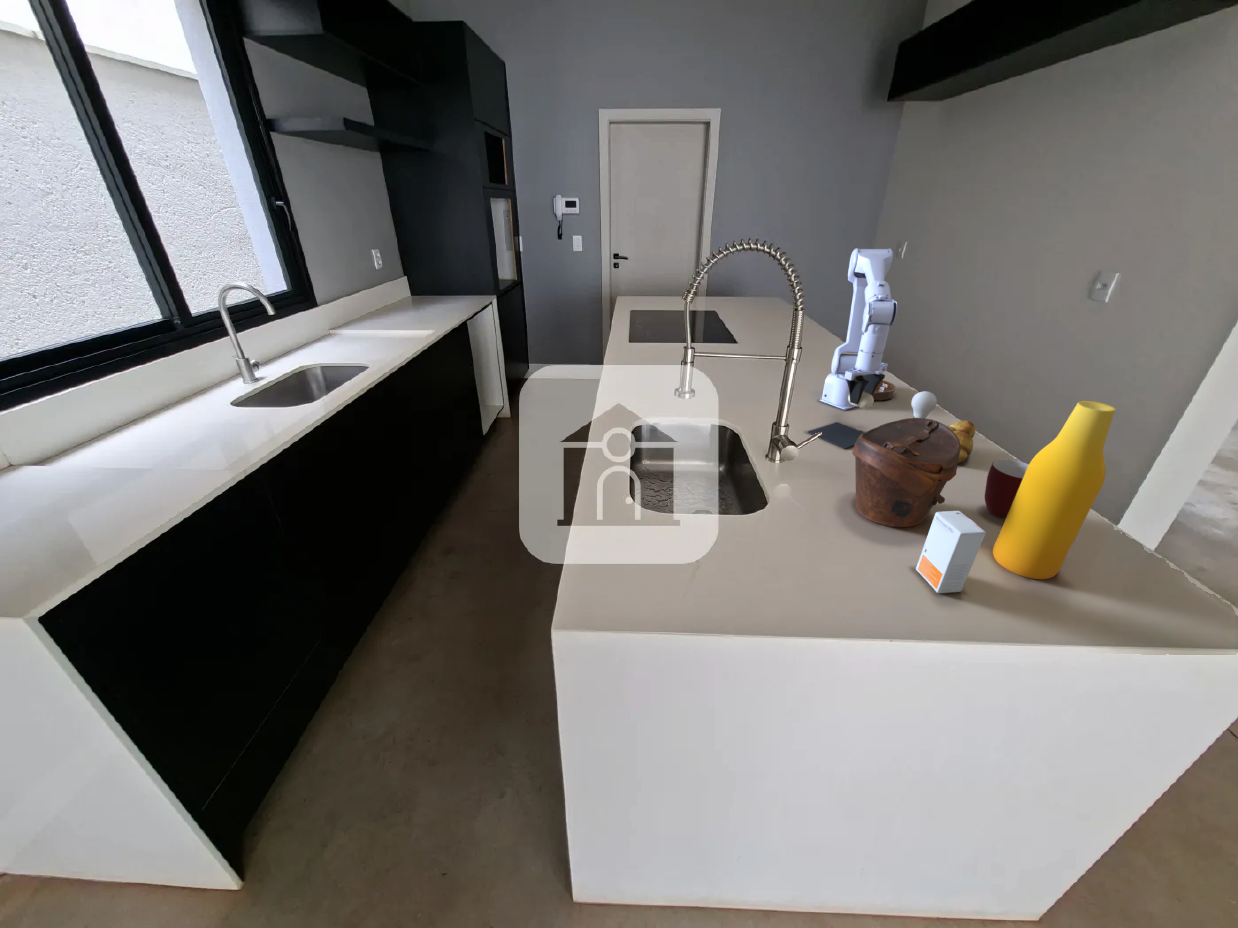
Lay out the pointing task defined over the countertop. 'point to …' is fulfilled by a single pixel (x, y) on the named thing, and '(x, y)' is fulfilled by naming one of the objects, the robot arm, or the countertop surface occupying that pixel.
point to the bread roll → (964, 437)
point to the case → (903, 470)
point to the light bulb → (923, 404)
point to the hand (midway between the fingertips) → (859, 401)
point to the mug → (1003, 485)
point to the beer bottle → (1056, 495)
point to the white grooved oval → (864, 401)
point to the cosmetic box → (949, 551)
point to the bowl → (884, 391)
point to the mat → (838, 434)
